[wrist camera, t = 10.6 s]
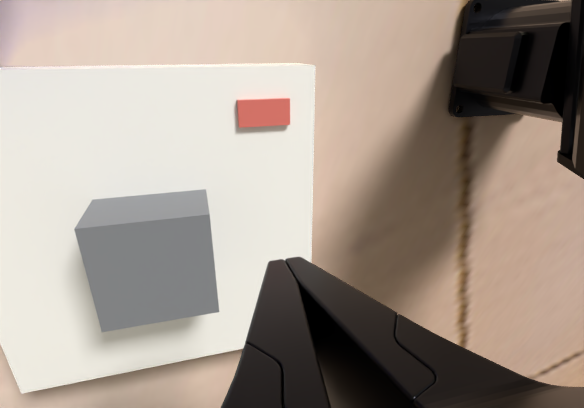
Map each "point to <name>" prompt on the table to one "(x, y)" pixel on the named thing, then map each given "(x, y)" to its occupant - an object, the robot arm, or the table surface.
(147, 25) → the table surface
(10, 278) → the socket plate
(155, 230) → the plug
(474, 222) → the table surface
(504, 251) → the table surface
